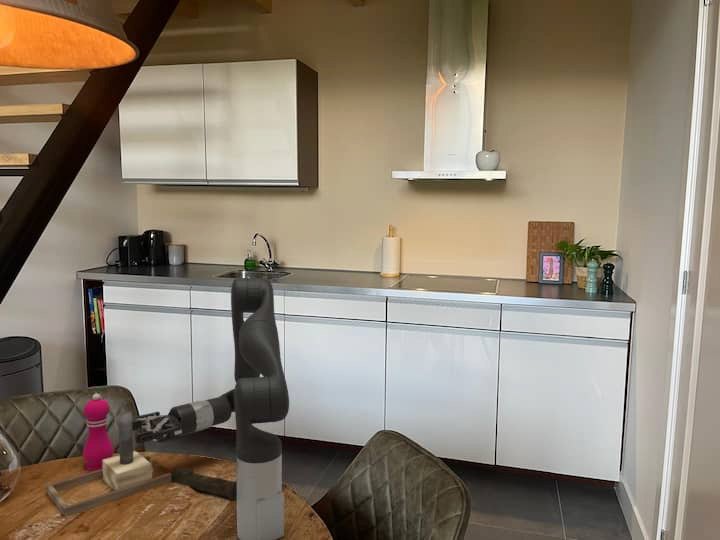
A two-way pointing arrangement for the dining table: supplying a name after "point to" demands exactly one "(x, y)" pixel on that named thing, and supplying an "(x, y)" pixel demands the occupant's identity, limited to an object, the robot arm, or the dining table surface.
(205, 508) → the dining table surface
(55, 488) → the bay
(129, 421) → the joystick
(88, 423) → the pepper mill
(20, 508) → the dining table surface
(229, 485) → the hand tool
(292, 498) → the dining table surface
